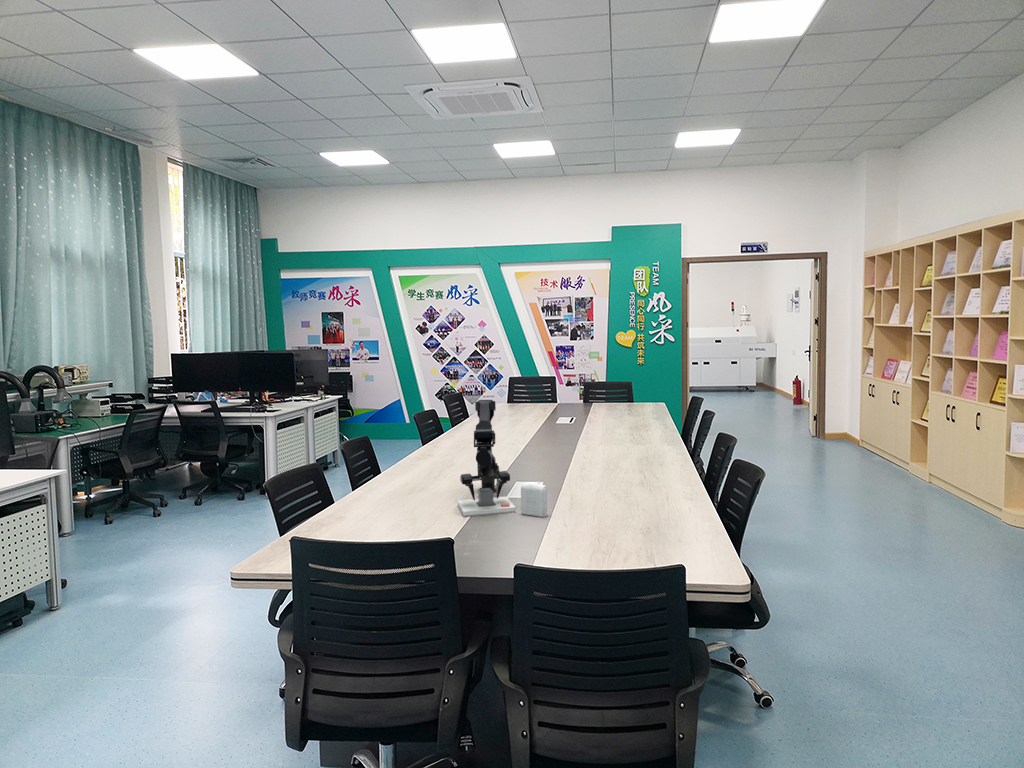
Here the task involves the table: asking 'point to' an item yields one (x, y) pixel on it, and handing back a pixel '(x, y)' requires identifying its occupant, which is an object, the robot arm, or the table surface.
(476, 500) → the socket plate
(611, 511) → the table surface
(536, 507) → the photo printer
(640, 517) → the table surface
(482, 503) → the plug
